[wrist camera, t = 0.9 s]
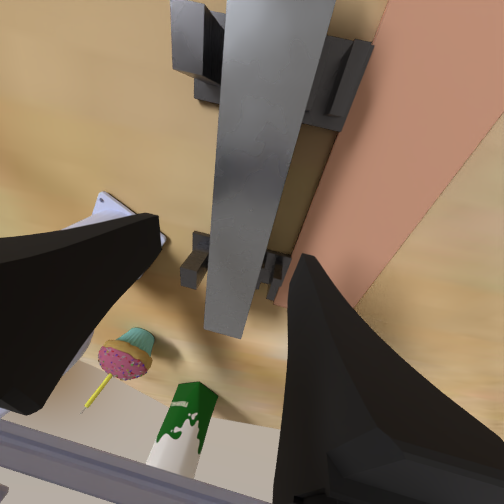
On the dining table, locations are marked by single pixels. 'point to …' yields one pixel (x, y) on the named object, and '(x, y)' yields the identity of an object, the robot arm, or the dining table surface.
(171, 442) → the milk carton
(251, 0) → the rail
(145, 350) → the cupcake
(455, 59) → the mat
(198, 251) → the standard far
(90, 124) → the dining table surface
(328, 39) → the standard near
